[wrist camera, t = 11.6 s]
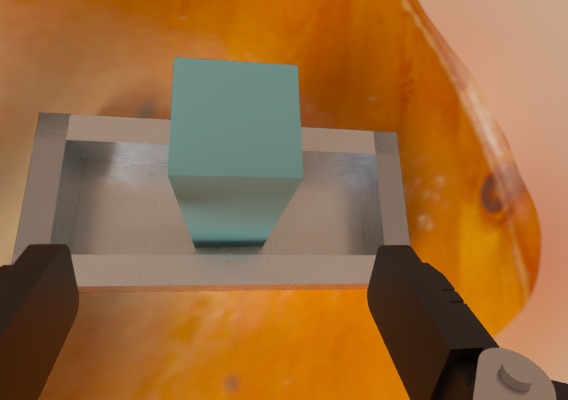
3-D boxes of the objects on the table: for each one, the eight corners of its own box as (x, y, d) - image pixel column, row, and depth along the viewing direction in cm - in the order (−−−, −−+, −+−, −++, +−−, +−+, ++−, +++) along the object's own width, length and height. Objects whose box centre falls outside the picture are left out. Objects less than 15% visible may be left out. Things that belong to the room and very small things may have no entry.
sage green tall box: (194, 247, 22) (167, 174, 11) (196, 182, 23) (174, 56, 12) (263, 246, 23) (303, 177, 12) (261, 184, 24) (297, 65, 13)
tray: (45, 292, 21) (7, 286, 18) (68, 144, 24) (39, 112, 20) (384, 288, 24) (414, 282, 21) (372, 158, 27) (396, 132, 23)
